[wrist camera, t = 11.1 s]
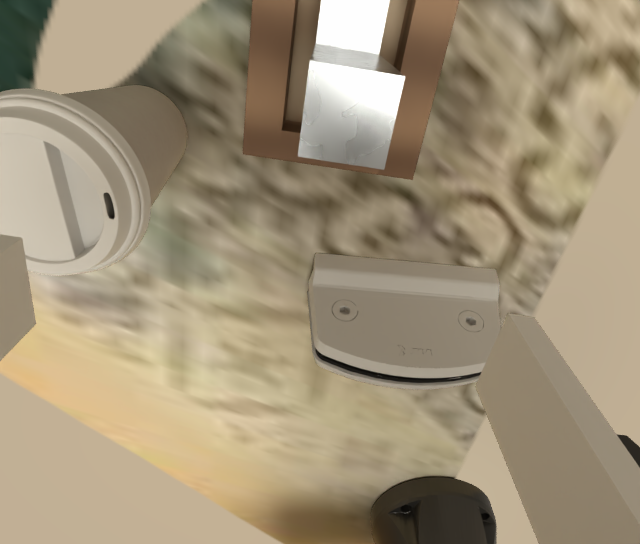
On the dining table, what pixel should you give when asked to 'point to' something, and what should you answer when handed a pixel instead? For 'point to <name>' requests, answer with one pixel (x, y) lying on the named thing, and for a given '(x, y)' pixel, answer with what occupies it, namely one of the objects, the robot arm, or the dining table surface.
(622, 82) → the dining table surface
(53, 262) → the coffee cup
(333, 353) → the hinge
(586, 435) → the robot arm
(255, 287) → the dining table surface
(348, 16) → the bracket
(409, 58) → the frame
